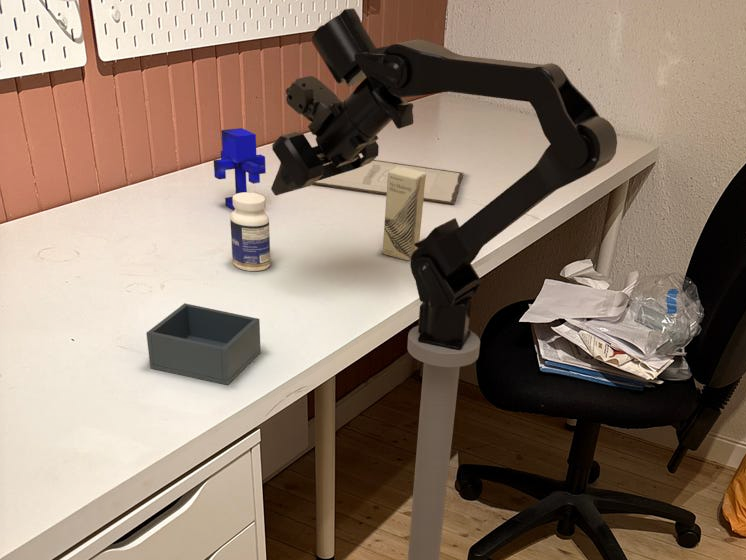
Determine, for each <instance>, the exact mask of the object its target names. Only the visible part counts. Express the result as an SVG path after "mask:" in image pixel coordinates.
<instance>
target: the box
mask: <svg viewBox="0 0 746 560" xmlns="http://www.w3.org/2000/svg"><path fill="white" fill-rule="evenodd" d="M425 179H426V173H425V172H421V171H417V170H413V169H409V168H404V167H400V166H397V167H395V168H394V169H392V170H391V171H389V172H388V183H387V194H386V198H385V214H384V225H383V226H384V227H383V239H382V254H383V255H385V256H390V257H394V258H398V259H401V260H404V261H411V260H410V257H411V255H412V253H413V252H414V251H415V250H416V249H418V248H417V247H416V246H415V245H414V244H415V243H417V242H419V241H421V240H420V239H421V228H422V218H423V210H424V209H423V208H424V188H425Z"/></svg>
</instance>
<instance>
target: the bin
mask: <svg viewBox="0 0 746 560" xmlns="http://www.w3.org/2000/svg"><path fill="white" fill-rule="evenodd" d="M260 323H261V322H260V318H257V317H252V316H247V315H243V314H238V313H233V312H227V311H223V310H220V309H214V308H209V307H204V306H200V305H195V304H189V303H186V302H185V303H183V304H181V305H180V306H179V307H178V308H177V309H175V310H174V311H173V312H171V313H170V314H169V315H168V316H166V317H165V318H163V320H161V321H160V322H158V323H157V324H156V325H154V326H153V327H152V328H151V329H149V330H148V331H147V332H146V342H147V350H148V359H149V367H150V369H152V370H157V371H161V372H166V373H170V374H174V375H175V374H176V375H180V376H185V377H189V378H194V379H198V380H203V381H208V382H213V383H217V384H221V385H227V386H228V385H230V384H231V383H232V382H233V381H234V379H236V378H237V377H238V376H239V375H240V374H241V373H242V372H243V371H244V370H245V369H246V368H247V367H248V366H249V365H250V364H251V363H252V362H253V361H254V360H255V359H256V358H258V356H259V355H260V354H261V327H260V325H261V324H260Z"/></svg>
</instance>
